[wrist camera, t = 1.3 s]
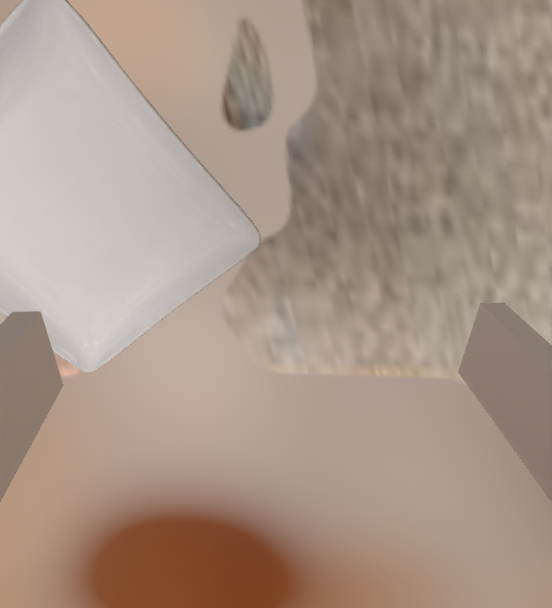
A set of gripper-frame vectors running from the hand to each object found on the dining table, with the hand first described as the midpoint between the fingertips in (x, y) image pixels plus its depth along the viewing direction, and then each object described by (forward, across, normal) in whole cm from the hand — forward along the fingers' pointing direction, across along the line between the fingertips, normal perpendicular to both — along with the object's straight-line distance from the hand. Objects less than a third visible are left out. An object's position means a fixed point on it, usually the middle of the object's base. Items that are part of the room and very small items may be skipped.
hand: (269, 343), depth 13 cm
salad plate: (+24, -14, -3) cm, 28 cm away
